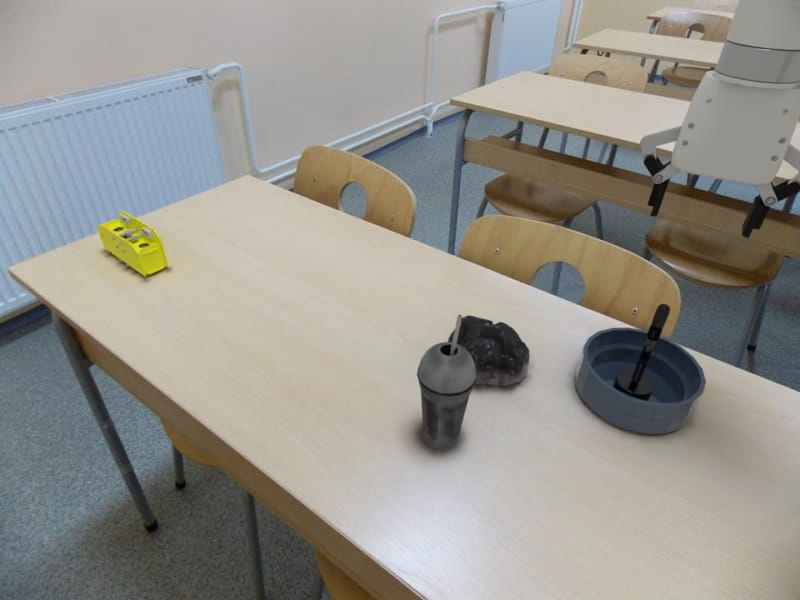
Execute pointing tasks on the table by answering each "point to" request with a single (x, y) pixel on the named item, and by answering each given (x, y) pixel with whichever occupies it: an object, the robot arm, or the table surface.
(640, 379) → the disc-capped black rod
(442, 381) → the beverage cup
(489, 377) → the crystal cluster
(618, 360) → the bowl
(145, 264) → the yellow toy chassis
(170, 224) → the table surface
